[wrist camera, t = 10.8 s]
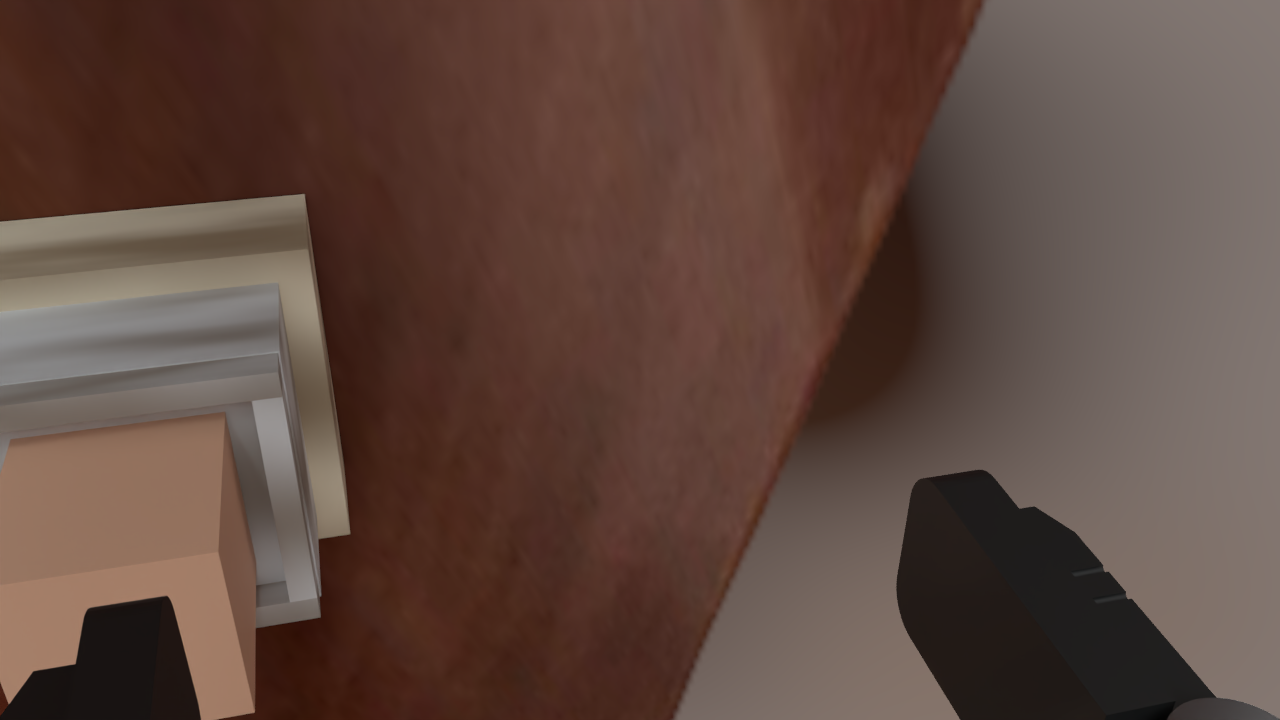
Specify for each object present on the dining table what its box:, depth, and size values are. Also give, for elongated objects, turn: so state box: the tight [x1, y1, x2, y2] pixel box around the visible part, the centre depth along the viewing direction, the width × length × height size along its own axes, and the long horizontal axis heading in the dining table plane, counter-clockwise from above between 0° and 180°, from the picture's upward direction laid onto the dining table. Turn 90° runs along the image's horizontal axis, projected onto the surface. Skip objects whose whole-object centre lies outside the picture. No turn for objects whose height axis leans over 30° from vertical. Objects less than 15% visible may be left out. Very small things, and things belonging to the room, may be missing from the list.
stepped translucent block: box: [0, 194, 350, 628], centre depth 37 cm, size 11×11×9 cm
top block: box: [0, 412, 256, 720], centre depth 32 cm, size 6×6×6 cm
